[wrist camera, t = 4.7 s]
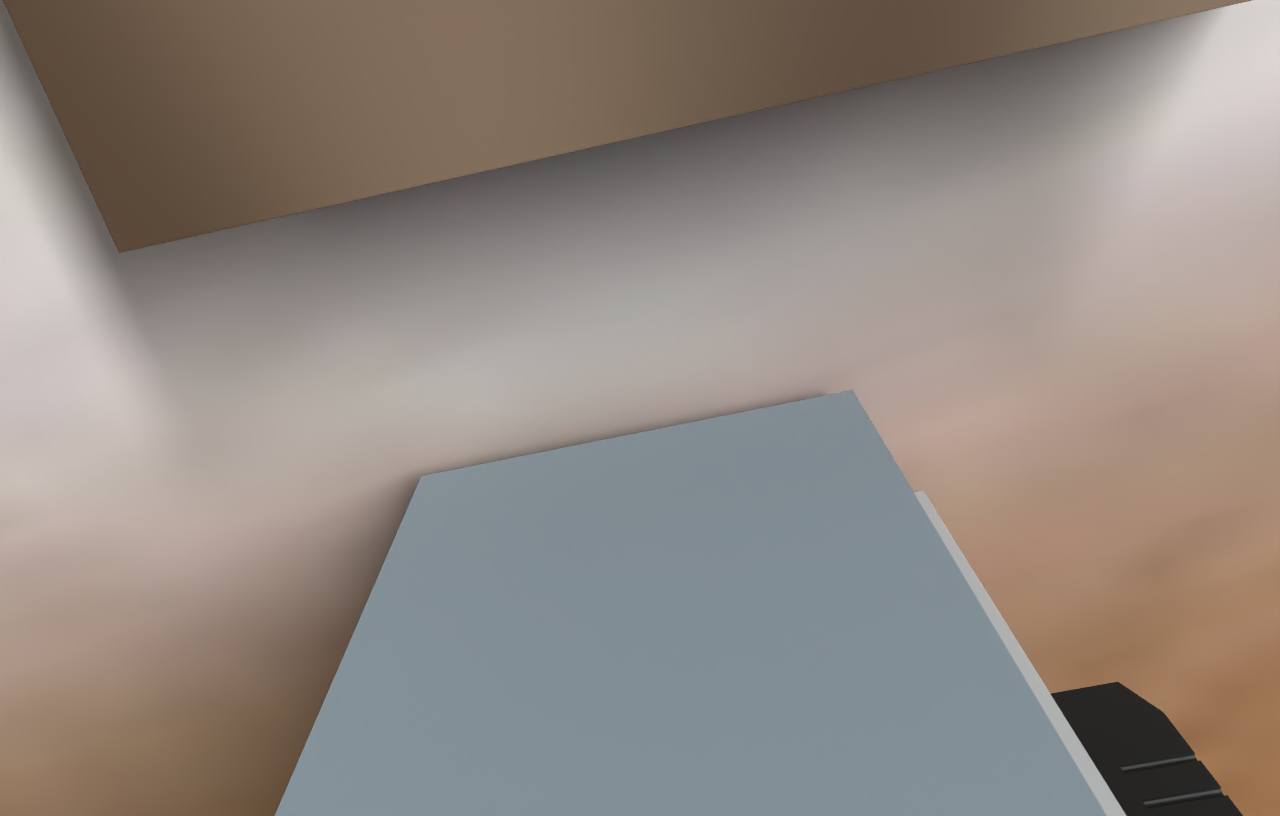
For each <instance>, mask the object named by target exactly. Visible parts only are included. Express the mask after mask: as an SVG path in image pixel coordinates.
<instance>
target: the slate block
mask: <svg viewBox="0 0 1280 816" xmlns="http://www.w3.org/2000/svg"><path fill="white" fill-rule="evenodd" d="M275 816H1107V815H1106V814H1105V812H1104V810H1103V808H1102V807H1101V805H1100V803H1099V802H1098V800H1097V798H1096V797H1095V795H1094V793H1093V792H1092V790H1091V788H1090V787H1089V785H1088V783H1087V782H1086V780H1085V778H1084V777H1083V775H1082V773H1081V772H1080V770H1079V768H1078V767H1077V765H1076V763H1075V762H1074V760H1073V758H1072V757H1071V755H1070V753H1069V752H1068V750H1067V748H1066V747H1065V745H1064V743H1063V742H1062V740H1061V738H1060V737H1059V735H1058V733H1057V731H1056V730H1055V728H1054V726H1053V725H1052V723H1051V721H1050V720H1049V718H1048V716H1047V715H1046V713H1045V711H1044V710H1043V708H1042V706H1041V705H1040V703H1039V701H1038V700H1037V698H1036V696H1035V695H1034V693H1033V691H1032V690H1031V688H1030V686H1029V685H1028V683H1027V681H1026V680H1025V678H1024V676H1023V675H1022V673H1021V671H1020V670H1019V668H1018V666H1017V665H1016V663H1015V661H1014V659H1013V658H1012V656H1011V654H1010V653H1009V651H1008V649H1007V648H1006V646H1005V644H1004V643H1003V641H1002V639H1001V638H1000V636H999V634H998V633H997V631H996V629H995V628H994V626H993V624H992V623H991V621H990V619H989V618H988V616H987V614H986V613H985V611H984V609H983V608H982V606H981V604H980V603H979V601H978V599H977V598H976V596H975V594H974V593H973V591H972V589H971V587H970V586H969V584H968V582H967V581H966V579H965V577H964V576H963V574H962V572H961V571H960V569H959V567H958V566H957V564H956V562H955V561H954V559H953V557H952V556H951V554H950V552H949V551H948V549H947V547H946V546H945V544H944V542H943V541H942V539H941V537H940V536H939V534H938V532H937V531H936V529H935V527H934V526H933V524H932V522H931V521H930V519H929V517H928V516H927V514H926V512H925V510H924V509H923V507H922V505H921V504H920V502H919V500H918V499H917V497H916V495H915V494H914V492H913V490H912V489H911V487H910V485H909V484H908V482H907V480H906V479H905V477H904V475H903V474H902V472H901V470H900V469H899V467H898V465H897V464H896V462H895V460H894V459H893V457H892V455H891V454H890V452H889V450H888V449H887V447H886V445H885V444H884V442H883V440H882V438H881V437H880V435H879V433H878V432H877V430H876V428H875V427H874V425H873V423H872V422H871V420H870V418H869V417H868V415H867V413H866V412H865V410H864V408H863V407H862V405H861V403H860V402H859V400H858V398H857V397H856V395H855V393H854V392H853V390H850V391H845V392H840V393H835V394H830V395H825V396H820V397H815V398H810V399H805V400H800V401H795V402H790V403H785V404H780V405H775V406H770V407H765V408H760V409H755V410H750V411H745V412H740V413H735V414H730V415H725V416H720V417H715V418H710V419H705V420H700V421H695V422H690V423H685V424H680V425H675V426H670V427H665V428H659V429H654V430H649V431H644V432H639V433H634V434H629V435H624V436H619V437H614V438H609V439H604V440H599V441H594V442H589V443H584V444H579V445H574V446H569V447H564V448H559V449H554V450H549V451H544V452H539V453H534V454H529V455H524V456H519V457H514V458H509V459H504V460H499V461H494V462H489V463H484V464H479V465H474V466H469V467H464V468H459V469H454V470H449V471H444V472H439V473H434V474H429V475H424V476H421V478H420V480H419V483H418V485H417V487H416V490H415V492H414V494H413V497H412V499H411V501H410V503H409V506H408V508H407V510H406V513H405V515H404V517H403V520H402V522H401V524H400V527H399V529H398V531H397V534H396V536H395V538H394V541H393V543H392V545H391V547H390V550H389V552H388V554H387V557H386V559H385V561H384V564H383V566H382V568H381V571H380V573H379V575H378V578H377V580H376V582H375V584H374V587H373V589H372V591H371V594H370V596H369V598H368V601H367V603H366V605H365V608H364V610H363V612H362V615H361V617H360V619H359V622H358V624H357V626H356V628H355V631H354V633H353V635H352V638H351V640H350V642H349V645H348V647H347V649H346V652H345V654H344V656H343V659H342V661H341V663H340V665H339V668H338V670H337V672H336V675H335V677H334V679H333V682H332V684H331V686H330V689H329V691H328V693H327V696H326V698H325V700H324V703H323V705H322V707H321V709H320V712H319V714H318V716H317V719H316V721H315V723H314V726H313V728H312V730H311V733H310V735H309V737H308V740H307V742H306V744H305V747H304V749H303V751H302V753H301V756H300V758H299V760H298V763H297V765H296V767H295V770H294V772H293V774H292V777H291V779H290V781H289V784H288V786H287V788H286V790H285V793H284V795H283V797H282V800H281V802H280V804H279V807H278V809H277V811H276V814H275Z"/></svg>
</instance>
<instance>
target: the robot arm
mask: <svg viewBox="0 0 1280 816" xmlns="http://www.w3.org/2000/svg"><path fill="white" fill-rule="evenodd" d="M914 494H915V495H916V497H917V499H918V500H919V502H920V504H921V505H922V507H923V509H924V510H925V512H926V514H927V516H928V517H929V519H930V521H931V522H932V524H933V526H934V527H935V529H936V531H937V532H938V534H939V536H940V537H941V539H942V541H943V542H944V544H945V546H946V547H947V549H948V551H949V552H950V554H951V556H952V557H953V559H954V561H955V562H956V564H957V566H958V567H959V569H960V571H961V572H962V574H963V576H964V577H965V579H966V581H967V582H968V584H969V586H970V587H971V589H972V591H973V593H974V594H975V596H976V598H977V599H978V601H979V603H980V604H981V606H982V608H983V609H984V611H985V613H986V614H987V616H988V618H989V619H990V621H991V623H992V624H993V626H994V628H995V629H996V631H997V633H998V634H999V636H1000V638H1001V639H1002V641H1003V643H1004V644H1005V646H1006V648H1007V649H1008V651H1009V653H1010V654H1011V656H1012V658H1013V659H1014V661H1015V663H1016V665H1017V666H1018V668H1019V670H1020V671H1021V673H1022V675H1023V676H1024V678H1025V680H1026V681H1027V683H1028V685H1029V686H1030V688H1031V690H1032V691H1033V693H1034V695H1035V696H1036V698H1037V700H1038V701H1039V703H1040V705H1041V706H1042V708H1043V710H1044V711H1045V713H1046V715H1047V716H1048V718H1049V720H1050V721H1051V723H1052V725H1053V726H1054V728H1055V730H1056V731H1057V733H1058V735H1059V737H1060V738H1061V740H1062V742H1063V743H1064V745H1065V747H1066V748H1067V750H1068V752H1069V753H1070V755H1071V757H1072V758H1073V760H1074V762H1075V763H1076V765H1077V767H1078V768H1079V770H1080V772H1081V773H1082V775H1083V777H1084V778H1085V780H1086V782H1087V783H1088V785H1089V787H1090V788H1091V790H1092V792H1093V793H1094V795H1095V797H1096V798H1097V800H1098V802H1099V803H1100V805H1101V807H1102V808H1103V810H1104V812H1105V814H1106V815H1107V816H1243V815H1242V814H1241V813H1240V811H1239V810H1238V809H1237V807H1236V806H1235V805H1234V804H1233V802H1232V801H1231V800H1230V798H1229V797H1228V796H1227V795H1226V796H1224V795H1223V793H1222V791H1221V787H1220V785H1219V784H1218V783H1217V781H1216V780H1215V779H1214V778H1213V776H1212V775H1211V774H1210V772H1209V771H1208V770H1207V768H1206V767H1205V766H1204V765H1203V763H1202V762H1201V761H1197V759H1196V757H1195V754H1194V752H1193V750H1192V749H1191V748H1190V746H1189V745H1188V744H1187V742H1186V741H1185V740H1184V739H1183V737H1182V736H1181V735H1180V733H1179V732H1178V731H1177V729H1176V728H1175V727H1174V726H1173V724H1172V723H1171V722H1170V720H1169V719H1168V718H1167V716H1166V715H1165V714H1164V713H1163V712H1162V711H1161V710H1159V709H1158V708H1156V707H1155V706H1153V705H1152V704H1150V703H1149V702H1147V701H1146V700H1144V699H1143V698H1141V697H1140V696H1138V695H1137V694H1135V693H1134V692H1132V691H1131V690H1129V689H1128V688H1126V687H1125V686H1123V685H1122V684H1120V683H1119V682H1114V683H1108V684H1103V685H1097V686H1091V687H1086V688H1080V689H1074V690H1069V691H1063V692H1057V693H1052V694H1050V693H1049V691H1048V689H1047V688H1046V686H1045V685H1044V683H1043V681H1042V680H1041V678H1040V677H1039V675H1038V673H1037V672H1036V670H1035V669H1034V667H1033V665H1032V664H1031V662H1030V661H1029V659H1028V657H1027V656H1026V654H1025V653H1024V651H1023V649H1022V648H1021V646H1020V645H1019V643H1018V641H1017V640H1016V638H1015V637H1014V635H1013V633H1012V632H1011V630H1010V629H1009V627H1008V625H1007V624H1006V622H1005V621H1004V619H1003V617H1002V616H1001V614H1000V613H999V611H998V609H997V608H996V606H995V605H994V603H993V601H992V600H991V598H990V597H989V595H988V593H987V592H986V590H985V589H984V587H983V585H982V584H981V582H980V581H979V579H978V577H977V576H976V574H975V573H974V571H973V569H972V568H971V566H970V565H969V563H968V561H967V560H966V558H965V557H964V555H963V553H962V552H961V550H960V549H959V547H958V545H957V544H956V542H955V541H954V539H953V537H952V536H951V534H950V533H949V531H948V529H947V528H946V526H945V525H944V523H943V521H942V520H941V518H940V517H939V515H938V513H937V512H936V510H935V509H934V507H933V505H932V504H931V502H930V501H929V499H928V497H927V496H926V494H925V493H924V491H919V492H914Z"/></svg>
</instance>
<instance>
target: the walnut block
mask: <svg viewBox="0 0 1280 816" xmlns="http://www.w3.org/2000/svg"><path fill="white" fill-rule="evenodd" d="M3 1H4V3H5V5H6V7H7V9H8V12H9V14H10V16H11V18H12V20H13V23H14V25H15V27H16V29H17V31H18V33H19V36H20V38H21V40H22V42H23V44H24V47H25V49H26V51H27V53H28V55H29V57H30V60H31V62H32V64H33V66H34V68H35V70H36V73H37V75H38V77H39V79H40V81H41V84H42V86H43V88H44V90H45V92H46V94H47V97H48V99H49V101H50V103H51V105H52V108H53V110H54V112H55V114H56V116H57V118H58V121H59V123H60V125H61V127H62V129H63V132H64V134H65V136H66V138H67V140H68V142H69V145H70V147H71V149H72V151H73V153H74V156H75V158H76V160H77V162H78V164H79V166H80V169H81V171H82V173H83V175H84V177H85V180H86V182H87V184H88V186H89V188H90V190H91V193H92V195H93V197H94V199H95V201H96V203H97V206H98V208H99V210H100V212H101V214H102V217H103V219H104V221H105V223H106V225H107V227H108V230H109V232H110V234H111V236H112V238H113V241H114V243H115V245H116V247H117V249H118V251H119V253H120V252H125V251H129V250H134V249H138V248H143V247H147V246H152V245H156V244H160V243H165V242H169V241H174V240H178V239H183V238H187V237H192V236H196V235H201V234H205V233H210V232H214V231H219V230H223V229H228V228H232V227H237V226H241V225H246V224H250V223H255V222H259V221H264V220H268V219H273V218H277V217H282V216H286V215H291V214H295V213H300V212H304V211H309V210H313V209H318V208H322V207H327V206H331V205H336V204H340V203H345V202H349V201H354V200H358V199H362V198H367V197H371V196H376V195H380V194H385V193H389V192H394V191H398V190H403V189H407V188H412V187H416V186H421V185H425V184H430V183H434V182H439V181H443V180H448V179H452V178H457V177H461V176H466V175H470V174H475V173H479V172H484V171H488V170H493V169H497V168H502V167H506V166H511V165H515V164H520V163H524V162H529V161H533V160H538V159H542V158H547V157H551V156H556V155H560V154H565V153H569V152H573V151H578V150H582V149H587V148H591V147H596V146H600V145H605V144H609V143H614V142H618V141H623V140H627V139H632V138H636V137H641V136H645V135H650V134H654V133H659V132H663V131H668V130H672V129H677V128H681V127H686V126H690V125H695V124H699V123H704V122H708V121H713V120H717V119H722V118H726V117H731V116H735V115H740V114H744V113H749V112H753V111H758V110H762V109H767V108H771V107H775V106H780V105H784V104H789V103H793V102H798V101H802V100H807V99H811V98H816V97H820V96H825V95H829V94H834V93H838V92H843V91H847V90H852V89H856V88H861V87H865V86H870V85H874V84H879V83H883V82H888V81H892V80H897V79H901V78H906V77H910V76H915V75H919V74H924V73H928V72H933V71H937V70H942V69H946V68H951V67H955V66H960V65H964V64H969V63H973V62H977V61H982V60H986V59H991V58H995V57H1000V56H1004V55H1009V54H1013V53H1018V52H1022V51H1027V50H1031V49H1036V48H1040V47H1045V46H1049V45H1054V44H1058V43H1063V42H1067V41H1072V40H1076V39H1081V38H1085V37H1090V36H1094V35H1099V34H1103V33H1108V32H1112V31H1117V30H1121V29H1126V28H1130V27H1135V26H1139V25H1144V24H1148V23H1153V22H1157V21H1162V20H1166V19H1171V18H1175V17H1180V16H1184V15H1188V14H1193V13H1197V12H1202V11H1206V10H1211V9H1215V8H1220V7H1224V6H1229V5H1233V4H1238V3H1242V2H1247V1H1251V0H3Z"/></svg>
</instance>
